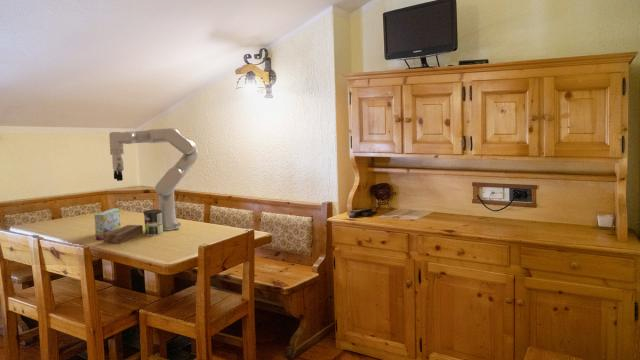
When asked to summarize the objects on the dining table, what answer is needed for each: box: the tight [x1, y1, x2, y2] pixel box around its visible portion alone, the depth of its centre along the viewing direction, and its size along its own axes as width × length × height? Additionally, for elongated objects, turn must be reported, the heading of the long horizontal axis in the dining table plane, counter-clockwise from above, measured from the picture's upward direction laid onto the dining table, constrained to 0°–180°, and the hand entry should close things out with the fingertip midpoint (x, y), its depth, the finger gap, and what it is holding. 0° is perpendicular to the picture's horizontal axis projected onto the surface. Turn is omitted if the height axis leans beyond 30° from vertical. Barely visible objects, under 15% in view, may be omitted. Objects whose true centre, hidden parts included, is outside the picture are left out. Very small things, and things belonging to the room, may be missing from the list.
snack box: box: [94, 208, 122, 241], centre depth 273 cm, size 21×6×15 cm, turn 179°
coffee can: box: [143, 209, 164, 237], centre depth 275 cm, size 10×10×14 cm
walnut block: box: [103, 224, 144, 245], centre depth 266 cm, size 10×24×5 cm, turn 171°
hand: (118, 179), depth 280 cm, fingers open, 9 cm apart
